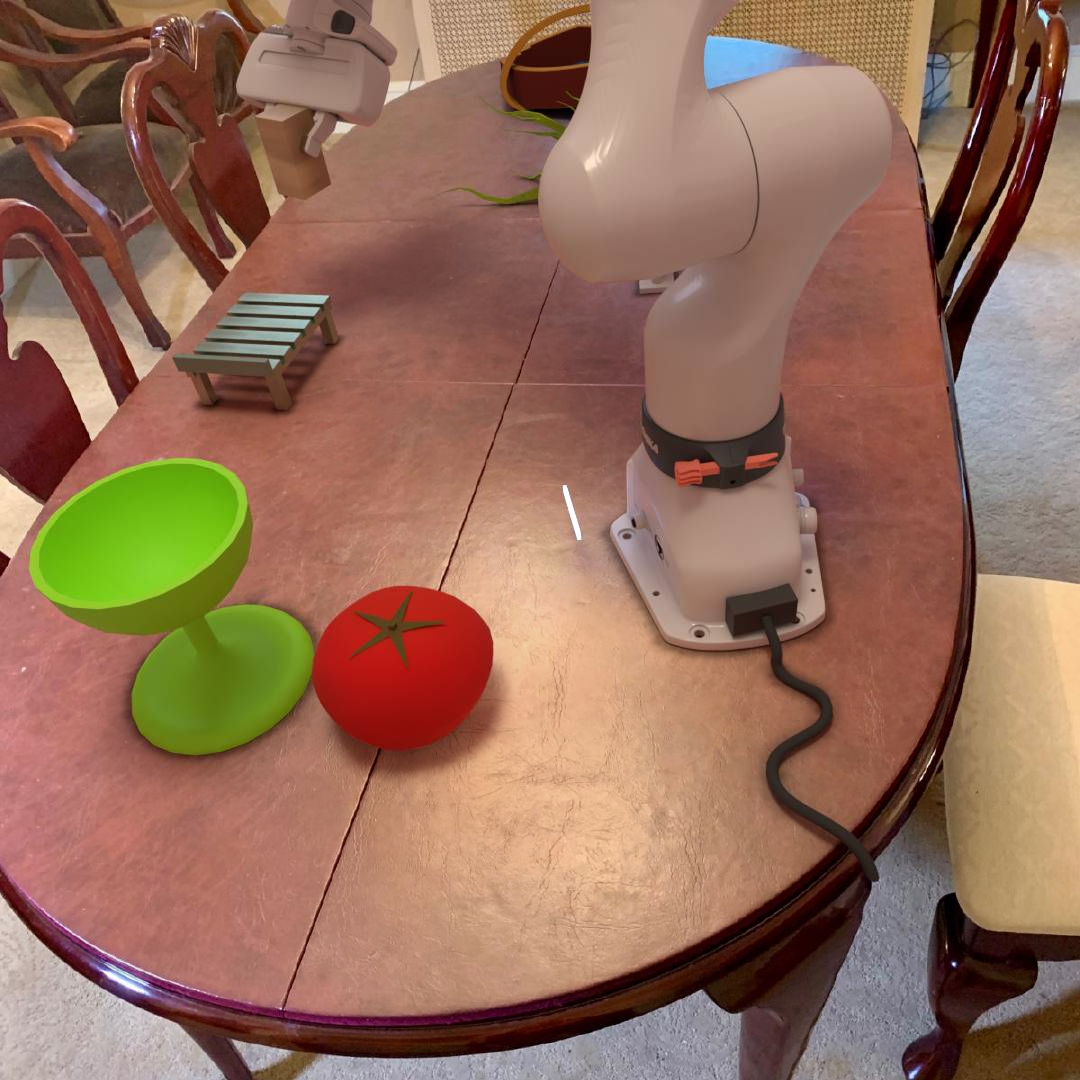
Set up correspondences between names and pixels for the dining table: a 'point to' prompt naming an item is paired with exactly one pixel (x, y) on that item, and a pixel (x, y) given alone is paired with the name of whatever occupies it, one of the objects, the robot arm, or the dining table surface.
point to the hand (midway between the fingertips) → (289, 151)
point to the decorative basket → (548, 65)
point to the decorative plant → (527, 195)
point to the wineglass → (176, 600)
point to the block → (291, 151)
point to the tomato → (403, 666)
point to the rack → (258, 341)
